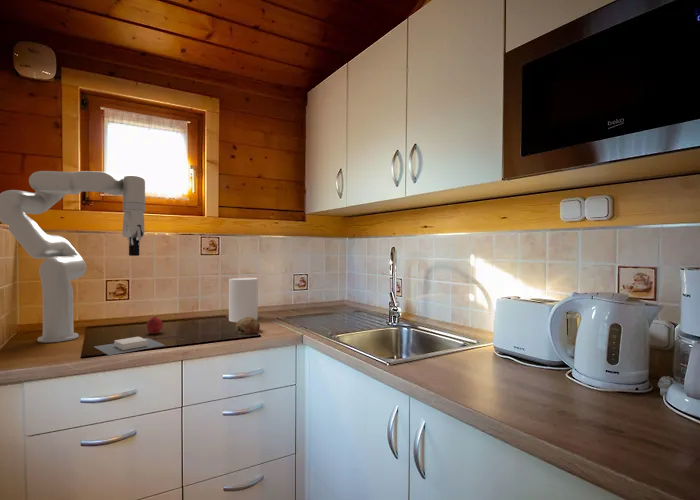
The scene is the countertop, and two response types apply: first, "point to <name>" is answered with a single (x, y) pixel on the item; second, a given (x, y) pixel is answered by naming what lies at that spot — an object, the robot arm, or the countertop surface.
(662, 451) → the countertop surface
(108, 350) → the mat
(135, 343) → the picture frame
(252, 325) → the bread roll
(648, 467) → the countertop surface
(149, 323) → the onion
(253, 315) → the canister
